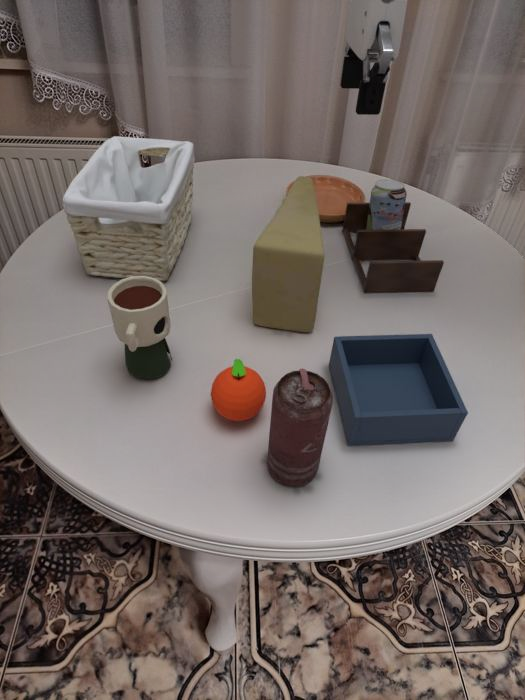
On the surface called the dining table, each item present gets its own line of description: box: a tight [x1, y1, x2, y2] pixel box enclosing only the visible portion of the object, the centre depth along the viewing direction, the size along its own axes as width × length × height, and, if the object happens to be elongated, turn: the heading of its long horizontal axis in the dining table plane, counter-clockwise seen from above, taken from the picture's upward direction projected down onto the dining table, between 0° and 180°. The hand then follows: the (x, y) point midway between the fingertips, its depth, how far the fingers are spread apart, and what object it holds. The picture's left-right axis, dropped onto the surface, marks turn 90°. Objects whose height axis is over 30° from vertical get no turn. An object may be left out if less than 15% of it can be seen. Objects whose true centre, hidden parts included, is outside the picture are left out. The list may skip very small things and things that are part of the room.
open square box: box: [328, 333, 469, 447], centre depth 66 cm, size 14×14×6 cm
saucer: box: [285, 174, 366, 224], centre depth 103 cm, size 16×16×3 cm
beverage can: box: [366, 179, 408, 230], centre depth 91 cm, size 6×7×12 cm
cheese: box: [251, 175, 326, 333], centre depth 80 cm, size 22×10×15 cm, turn 170°
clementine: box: [210, 358, 267, 422], centre depth 64 cm, size 8×7×7 cm
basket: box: [62, 135, 196, 282], centre depth 87 cm, size 24×16×15 cm
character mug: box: [107, 276, 173, 379], centre depth 66 cm, size 11×7×13 cm, turn 177°
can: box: [266, 368, 334, 487], centre depth 56 cm, size 6×6×14 cm
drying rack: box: [341, 201, 445, 294], centre depth 89 cm, size 12×19×6 cm, turn 5°
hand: (358, 100), depth 70 cm, fingers open, 9 cm apart
